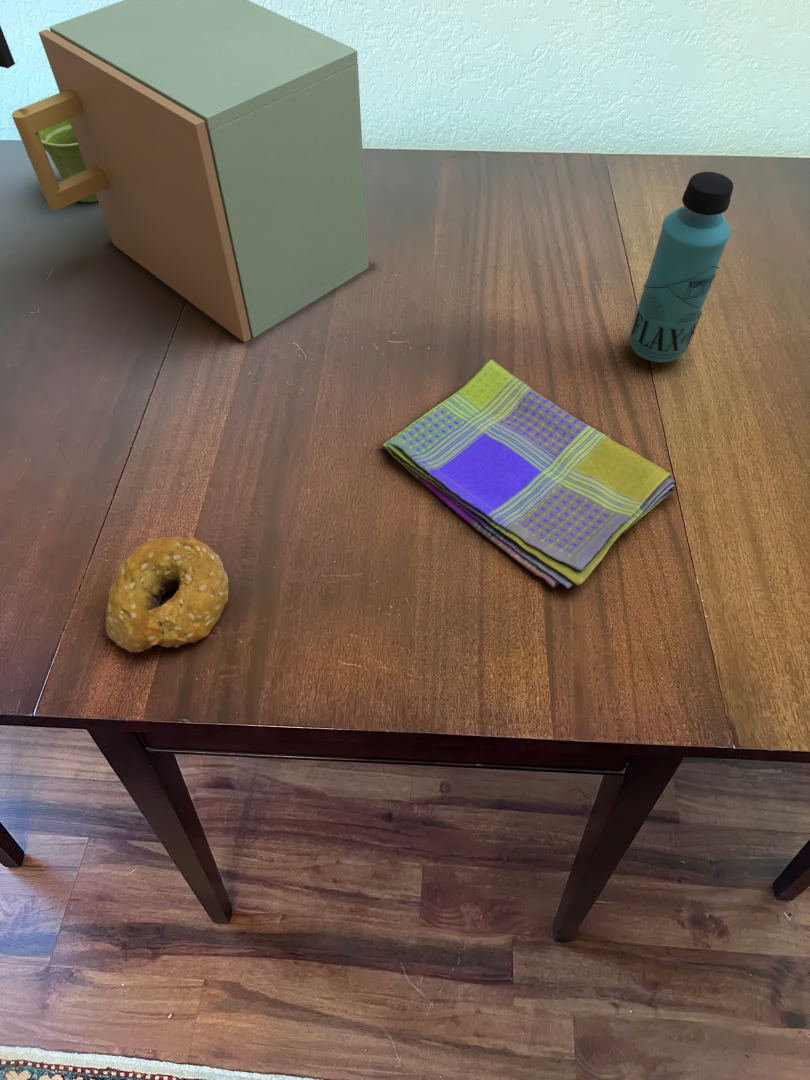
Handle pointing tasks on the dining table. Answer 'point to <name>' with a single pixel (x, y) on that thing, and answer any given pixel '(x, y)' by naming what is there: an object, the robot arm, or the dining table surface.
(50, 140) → the plant pot
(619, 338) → the dining table surface
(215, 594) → the bagel
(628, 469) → the dish towel
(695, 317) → the beverage bottle
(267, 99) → the cupboard
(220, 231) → the cupboard door
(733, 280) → the dining table surface
